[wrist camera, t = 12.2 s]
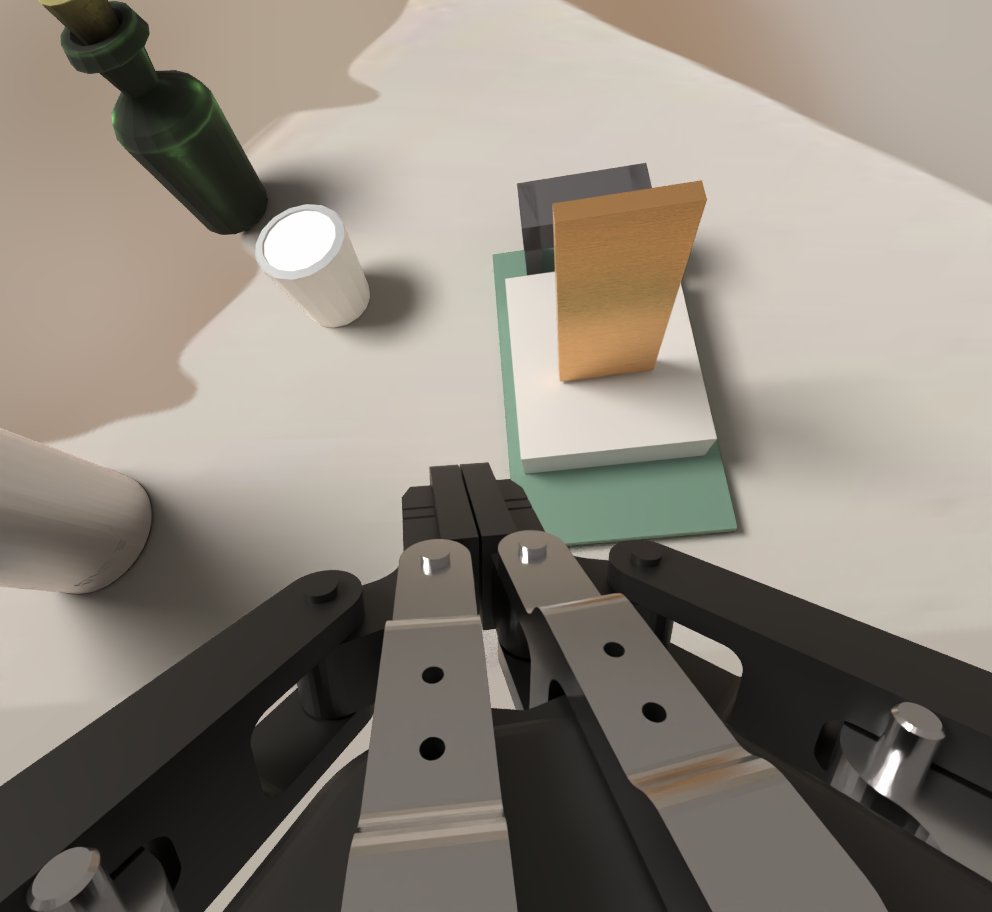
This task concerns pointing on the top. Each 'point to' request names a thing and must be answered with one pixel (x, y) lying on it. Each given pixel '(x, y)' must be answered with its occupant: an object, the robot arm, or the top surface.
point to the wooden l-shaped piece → (620, 276)
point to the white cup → (314, 264)
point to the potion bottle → (164, 116)
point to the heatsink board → (611, 486)
